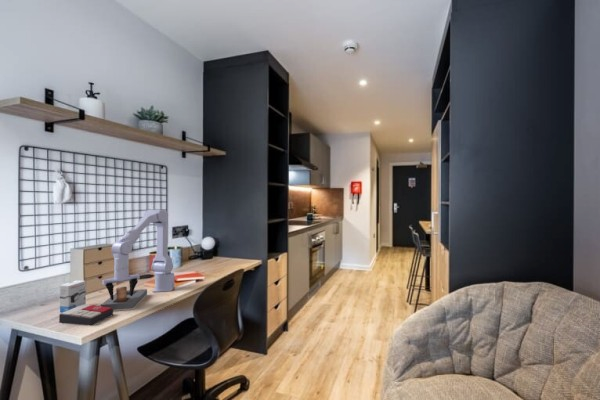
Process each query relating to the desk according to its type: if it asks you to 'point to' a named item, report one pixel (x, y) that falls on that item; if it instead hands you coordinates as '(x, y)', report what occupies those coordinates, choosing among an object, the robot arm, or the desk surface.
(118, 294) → the peg
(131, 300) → the board
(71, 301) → the ink box
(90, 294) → the desk surface
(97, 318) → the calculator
